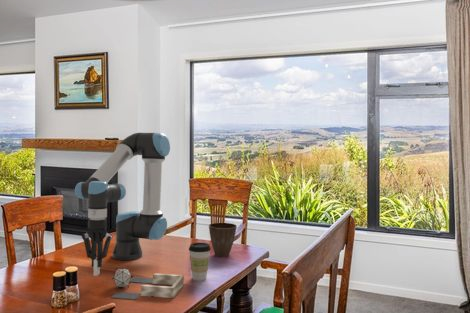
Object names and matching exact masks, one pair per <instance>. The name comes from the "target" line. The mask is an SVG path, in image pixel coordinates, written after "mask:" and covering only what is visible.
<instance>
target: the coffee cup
mask: <svg viewBox="0 0 470 313" xmlns="http://www.w3.org/2000/svg"><path fill="white" fill-rule="evenodd" d="M211 250H212V249H211V246H210V244H209V243H207V242H194V243H191V244H190V245H189V247H188V251H189V259H190V270H191V277H192V278H191V279H192V280H194V281H205V280H206V279H207V275H208V270H209V264H210V253H211Z"/></svg>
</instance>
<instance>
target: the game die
mask: <svg viewBox="0 0 470 313" xmlns="http://www.w3.org/2000/svg"><path fill="white" fill-rule="evenodd" d="M129 269H130V267H129V266H128V267H127V268H117V267H115V273H114V275H113V277H112V278H111V280H113V281H114V284H115V289H116V290H117V289H118V288H122V287H127V288H130V285H129V284H130V283H131V282H130V280H131V279H132V278H134V276H133V275H132V274H131V272H130V270H129Z"/></svg>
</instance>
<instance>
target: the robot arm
mask: <svg viewBox="0 0 470 313" xmlns="http://www.w3.org/2000/svg"><path fill="white" fill-rule="evenodd" d="M170 150H171V143H170V140H169V138H168V137H167V135H166V134H165V133H163V132H135V133H132V134H130V135H128V136H126V137H125V138H124V139H122V140H121V141H120V142H119V143H118V144H117V145H116V147H115V150H114V151H113V153H111V154H110V156H109V157H108V158H107V159H106V160H105V161H104V162H103V163H102V164H101V165H100V166H99V167H98V168H97V169H96V171H95V172H93V174H92V175H91V176H90V177H89V178H88V179H87V180H86V181H80V182H78V183H77V184H76V185H75V188H74V195H75V196H76V198H78V199H82V200H88V206H87V207H88V208H87V218H88V219H87V231H86V233H84V234H82V235H81V238H82V241H83V243H84V248H85V252H86V258H88V259H91V268H93V276H94V277H96V276H99V275H101V271H100V270H101V267H102V266H103V259H105V258H107V255H108V253H109V252H108V251H109V248H110V244H111V241H112V239H113V237H114V235H112V234H111V235H110V233H109V232H108V230H107V229H108V228H107V227H108V219H107V217H108V203H111V202H112V203H113V202H118V201H120V200H121V201H122V200H123V199H124V198H125V197H126V194H127V191H126V187H125V186H124V185H123V184H122V183H116V182H115V183H109V182H110V180H112V178H113V177H114V176H115V175H116V174H117V173H118V171H119V170H120V169H121V168H122V167H123V166H124V165H125V163H127V162H128V161H130V160H131V159H132V158H134V157H135V156H141V159H142V161H143V162H144V167H143V168H144V172H143V175H144V176H143V196H142V199H143V200H142V209H141V211H138V210H136V211H134V210H133V211H127V212H126V211H125V212H121V213H118V214H117V215H116V221H115V244H114V247H113V250H112V259H114V260H116V261H117V260H118V261H133V260H139V259H140V258H142V257H143V250H142V246H141V243H140V239H145V240H150V241H154V240H155V241H157V240H161V239H162V238H163V237H164V235H165V233H166V232H167V229H168V220H167V218H166V217H164V214H163V213H164V212H162V210H161V196H162V195H161V193H162V189H161V188H162V172H163V170H162V167H163V162H165V160H166V157H167V156H168V155H169V153H170ZM104 239H105V241H104ZM103 244H104V245H103Z"/></svg>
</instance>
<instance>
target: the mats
mask: <svg viewBox="0 0 470 313" xmlns="http://www.w3.org/2000/svg"><path fill="white" fill-rule="evenodd" d="M129 283H134V284H135V283H136V284H145V285H152V284H153V277H152V278H151V277H139V276H138V277H137V276H133V277H132V278H131V280H130V282H129ZM139 297H141V292H129V291H128V292H126V291H125V292H124V291H116V292H115V293H114V294H113V295H112V296H111V297H110V298H111V299H121V300H134V301H136V300H138V299H139Z"/></svg>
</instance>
